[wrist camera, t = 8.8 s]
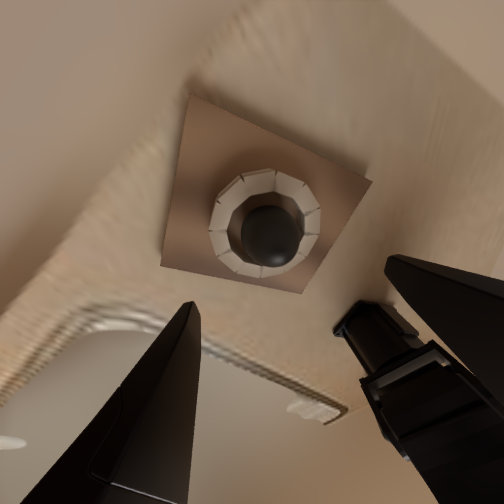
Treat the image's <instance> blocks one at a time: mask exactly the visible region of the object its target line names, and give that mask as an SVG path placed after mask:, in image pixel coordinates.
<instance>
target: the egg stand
mask: <svg viewBox="0 0 504 504" xmlns="http://www.w3.org/2000/svg"><path fill="white" fill-rule="evenodd" d="M372 182H373V181H371V180H369V179H366V178H364V177H362V176H360V175H358V174H356V173H354V172H352V171H350V170H348V169H346V168H344V167H342V166H339V165H337V164H335V163H333V162H331V161H329V160H327V159H325V158H323V157H321V156H319V155H317V154H315V153H312V152H310V151H308V150H306V149H304V148H302V147H300V146H298V145H296V144H294V143H292V142H290V141H287V140H285V139H283V138H281V137H279V136H277V135H275V134H273V133H271V132H269V131H267V130H265V129H263V128H260V127H258V126H256V125H254V124H252V123H250V122H248V121H246V120H244V119H242V118H240V117H238V116H235V115H233V114H231V113H229V112H227V111H225V110H223V109H221V108H219V107H217V106H215V105H213V104H211V103H208V102H206V101H204V100H202V99H200V98H198V97H196V96H194V95H192V94H190V93H189V99H188V104H187V110H186V116H185V122H184V128H183V134H182V140H181V146H180V152H179V158H178V163H177V169H176V175H175V181H174V187H173V193H172V199H171V205H170V211H169V216H168V222H167V228H166V234H165V240H164V246H163V252H162V258H161V264H160V266H162V267H167V268H172V269H177V270H183V271H188V272H193V273H198V274H203V275H208V276H213V277H218V278H223V279H228V280H233V281H238V282H243V283H248V284H253V285H258V286H263V287H268V288H273V289H278V290H283V291H288V292H293V293H299V294H302V293H303V291H304V289H305V288H306V286H307V285H308V283H309V281H310V280H311V278H312V277H313V275H314V274H315V272H316V270H317V269H318V267H319V266H320V264H321V263H322V261H323V259H324V258H325V256H326V255H327V253H328V251H329V250H330V248H331V247H332V245H333V244H334V242H335V240H336V239H337V237H338V236H339V234H340V233H341V231H342V229H343V228H344V226H345V225H346V223H347V221H348V220H349V218H350V217H351V215H352V214H353V212H354V210H355V209H356V207H357V206H358V204H359V203H360V201H361V199H362V198H363V196H364V195H365V193H366V191H367V190H368V188H369V187H370V185H371V184H372ZM263 205H275V206H278V207H281V208H283V209H285V210H286V211H287V212H289V213H290V214H291V215H292V217H293V218H294V219H295V221H296V223H297V225H298V228H299V232H300V245H299V249H298V251H297V253H296V255H295V257H294V258H293V259H292V260H291V261H290V262H289V263H288V264H286V265H284V266H281V267H276V268H271V267H265V266H262V265H260V264H258V263H257V262H255V261H254V260H253V259H251V258H250V256H249V255H248V254H247V253H246V251H245V249H244V247H243V245H242V241H241V227H242V223H243V221H244V219H245V217H246V216H247V215H248V214H249V213H250V212H251V211H252V210H253V209H255V208H257V207H259V206H263Z"/></svg>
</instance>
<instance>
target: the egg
mask: <svg viewBox="0 0 504 504" xmlns="http://www.w3.org/2000/svg"><path fill="white" fill-rule="evenodd" d="M241 241H242V245H243V247H244V249H245V251H246V253H247V254H248V255H249V256H250V258H251V259H253V260H254V261H255V262H257V263H258V264H260V265H262V266H265V267H271V268H276V267H281V266H284V265H286V264H288V263H289V262H290V261H291V260H292V259H293V258H294V257H295V255H296V253H297V251H298V249H299V245H300V232H299V228H298V225H297V223H296V221H295V219H294V218H293V217H292V215H291V214H290V213H289V212H287V211H286V210H285V209H283V208H281V207H278V206H275V205H263V206H259V207H257V208H255V209H253V210H252V211H251V212H250V213H249V214H248V215H247V216H246V217H245V219H244V221H243V223H242V227H241Z"/></svg>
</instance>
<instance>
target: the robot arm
mask: <svg viewBox="0 0 504 504" xmlns="http://www.w3.org/2000/svg"><path fill="white" fill-rule="evenodd" d="M384 273H385V275H386V277H387V278H388V279H389V280H390V282H391V283H392V284H393V286H394V287H395V288H396V289H397V291H398V292H399V293H400V295H401V296H402V297H403V298H404V300H405V301H406V302H407V303H408V304H409V306H410V307H411V308H412V309H413V310H414V311H415V312H416V313H417V314H418V315H419V316H420V317H421V318H422V320H423V321H424V322H425V323H426V324H427V325H428V326H429V327H430V328H431V329H432V330H433V331H434V332H435V333H436V335H437V336H438V337H439V338H440V339H441V340H442V341H443V342H444V343H445V344H446V345H447V346H448V347H449V348H450V349H451V351H452V352H453V353H454V354H455V355H456V356H457V357H458V358H459V359H460V360H461V361H462V362H463V363H464V364H465V366H466V367H467V368H468V369H469V370H470V371H471V372H472V373H473V374H474V375H475V376H474V375H473V374H472V373H471V372H470V371H469V370H467V369H466V368H465V367H464V366H463V365H462V364H461V363H459V362H458V361H457V360H456V359H455V358H454V357H452V356H451V355H450V354H449V353H448V352H447V351H445V350H444V349H443V348H442V347H441V346H440V345H438V344H437V343H436V342H435V341H434V340H433V339H432V340H430V341H428V343H427V344H424V343H423V342H422V341H421V340H420V339H419V338H418V336H419V332H418V331H417V330H416V329H415V328H414V327H413V326H412V325H411V324H410V323H409V322H407V321H406V320H405V319H404V318H403V317H402V316H401V315H400V314H399V313H398V312H397V310H396V309H395V308H394V307H392V306H388V305H383V304H378V303H372V302H367V301H359V302H358V303H357V304H356V305H355V306H354V307H353V309H352V310H351V311H350V312H349V313H348V315H347V316H346V317H345V318H344V319H343V321H342V322H341V323H340V324H339V325H338V327H337V328H336V329H335V330H334V331H333V334H334V336H336V337H343V338H345V340H346V342H347V343H348V345H349V346H350V348H351V349H352V351H353V352H354V354H355V356H356V357H357V359H358V360H359V362H360V363H361V365H362V367H363V368H364V370H365V371H366V373H367V374H368V376H367V377H365V378H361V379H359V381H360V383H361V388H362V390H363V392H364V394H365V396H366V398H367V400H368V402H369V404H370V406H371V408H372V410H373V412H374V414H375V417H376V420H377V423H378V425H379V428H380V430H381V433H382V435H383V437H384V438H385V439H386V440H387V441H388V442H390V443H392V444H393V446H394V447H395V448H396V450H397V451H398V452H399V453H400V455H401V456H402V457H403V458H404V459H405V460H406V461H411V462H412V463H413V465H414V466H415V468H416V469H417V471H418V472H419V474H420V475H421V476H422V478H423V479H424V481H425V482H426V484H427V485H428V487H429V488H430V490H431V492H432V493H433V494H434V496H435V498H436V499H437V501H438V503H439V504H504V281H502V280H499V279H495V278H491V277H487V276H483V275H479V274H475V273H471V272H467V271H464V270H460V269H456V268H452V267H448V266H444V265H440V264H436V263H432V262H428V261H424V260H420V259H416V258H412V257H408V256H404V255H400V254H396V255H392V256H389V257H388V258H387V261H386V265H385V269H384ZM200 361H201V317H200V313H199V311H198V308H197V306H196V304H195V302H194V301H190V302H186V303H184V304H183V305H182V306H181V307H180V308H179V310H178V311H177V312H176V314H175V315H174V316H173V317H172V319H171V320H170V321H169V323H168V324H167V325H166V326H165V328H164V329H163V330H162V332H161V333H160V334H159V335H158V337H157V338H156V339H155V341H154V342H153V343H152V344H151V346H150V347H149V348H148V350H147V351H146V352H145V353H144V355H143V356H142V358H141V359H140V360H139V361H138V363H137V364H136V365H135V366H134V368H133V369H132V370H131V372H130V373H129V374H128V375H127V377H126V378H125V379H124V381H123V382H122V383H121V385H120V387H118V388H117V389H116V391H115V392H114V393H113V394H112V396H111V397H110V398H109V400H108V401H107V402H106V403H105V405H104V406H103V407H102V409H101V410H100V411H99V412H98V413H97V415H96V416H95V417H94V418H93V420H92V421H91V422H90V423H89V424H88V426H87V427H86V428H85V429H84V430H83V431H82V433H81V434H80V435H79V436H78V437H77V438H76V440H75V441H74V442H73V443H72V444H71V445H70V447H69V448H68V449H67V450H66V451H65V452H64V453H63V455H62V456H61V457H60V458H59V459H58V460H57V462H56V463H55V464H54V465H53V466H52V467H51V468H50V470H49V471H48V472H47V473H46V474H45V475H44V476H43V478H42V479H41V480H40V481H39V483H38V484H37V485H36V486H35V487H34V488H33V489H32V490H31V491H30V492H29V494H28V495H27V496H26V497H25V498H24V499H23V501H22V502H21V503H20V504H187V501H188V491H189V480H190V469H191V458H192V447H193V436H194V426H195V415H196V404H197V394H198V383H199V371H200ZM442 363H445V364H446V366H444V367H443V366H442V365H441V364H442Z"/></svg>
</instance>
